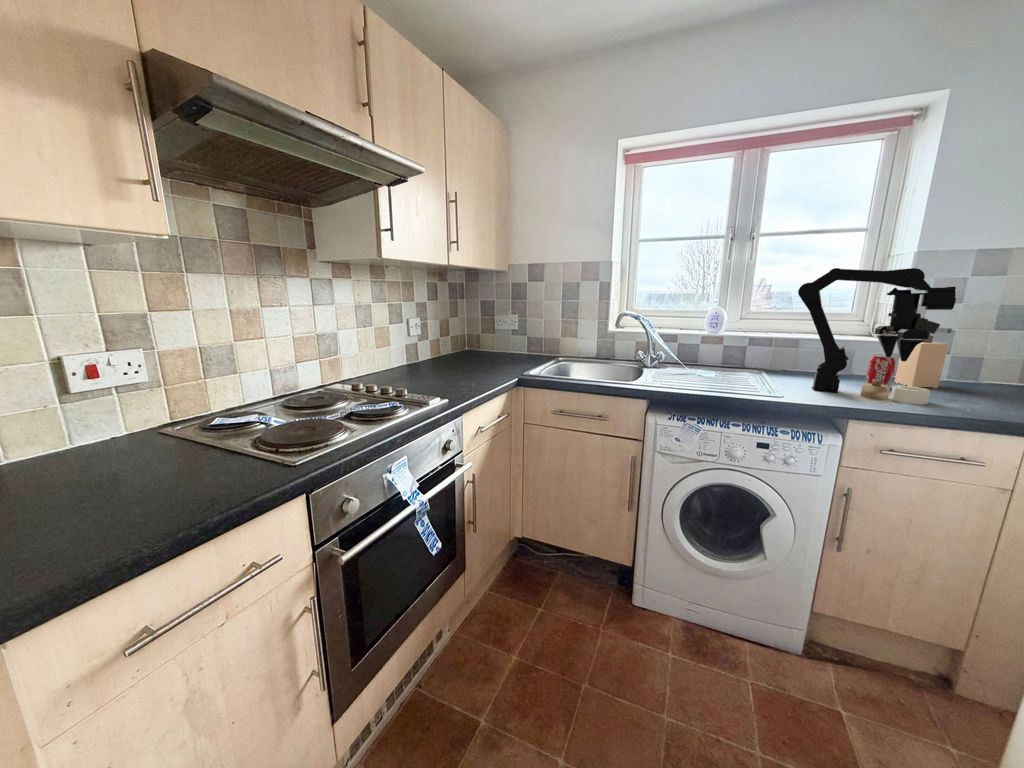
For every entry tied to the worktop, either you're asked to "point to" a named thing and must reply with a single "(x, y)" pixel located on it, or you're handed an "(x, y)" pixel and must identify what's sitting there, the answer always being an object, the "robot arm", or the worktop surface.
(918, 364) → the soap dispenser
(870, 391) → the lid
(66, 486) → the worktop surface
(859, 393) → the mat
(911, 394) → the bowl
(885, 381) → the soda can
